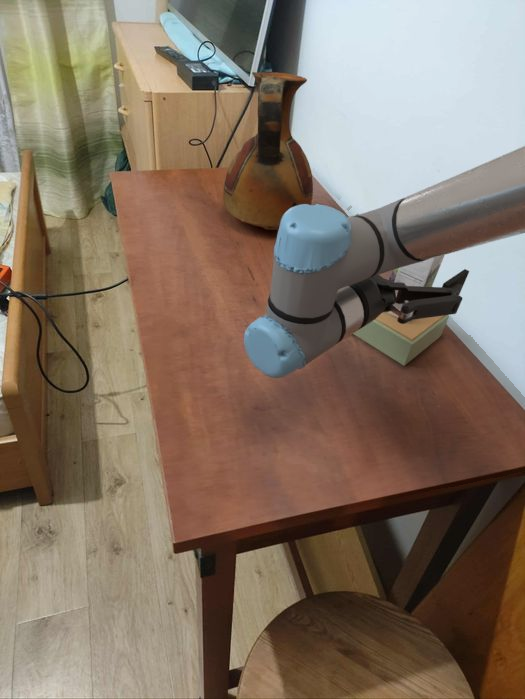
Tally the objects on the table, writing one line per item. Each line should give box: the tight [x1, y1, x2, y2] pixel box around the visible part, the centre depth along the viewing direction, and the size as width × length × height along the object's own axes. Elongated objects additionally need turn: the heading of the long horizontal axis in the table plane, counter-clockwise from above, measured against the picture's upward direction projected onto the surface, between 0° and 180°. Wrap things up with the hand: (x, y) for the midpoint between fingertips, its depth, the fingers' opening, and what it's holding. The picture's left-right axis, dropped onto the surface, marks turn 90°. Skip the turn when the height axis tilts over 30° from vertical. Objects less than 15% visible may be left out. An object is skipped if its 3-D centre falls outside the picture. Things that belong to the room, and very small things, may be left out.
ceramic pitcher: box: [222, 71, 314, 231], centre depth 107 cm, size 20×20×30 cm
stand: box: [352, 312, 450, 367], centre depth 87 cm, size 12×12×5 cm
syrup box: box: [386, 255, 445, 323], centre depth 81 cm, size 6×6×14 cm
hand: (425, 258), depth 80 cm, fingers open, 13 cm apart
